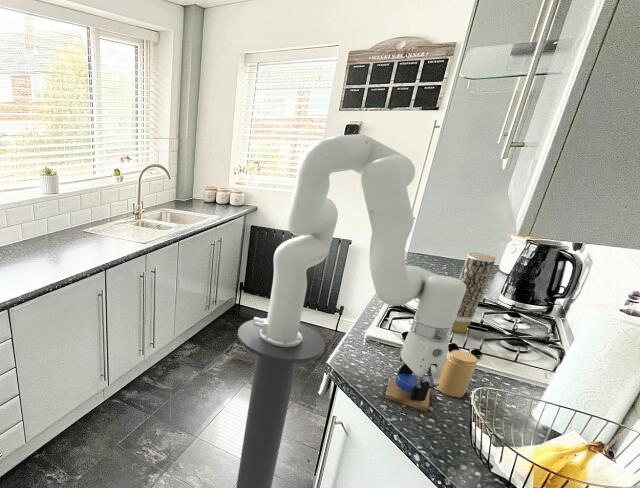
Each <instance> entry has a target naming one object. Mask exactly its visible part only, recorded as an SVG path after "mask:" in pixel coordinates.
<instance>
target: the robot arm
mask: <svg viewBox="0 0 640 488" xmlns="http://www.w3.org/2000/svg"><path fill="white" fill-rule="evenodd" d="M297 167H298V168H297V170H296V172H297V173H296V178H295V182H294V183H295V184H294V186H293V187H294V188H293V191H292V195H291V200H290V204H289V208H288V212H287V217H286V227H287V230H288V232H290V233H291V234H292V235H294V236H296V237H293V238H290V239H288V240H285V241H283V242H282V243H280V244H279V245H278V246H277V248H276V249H275V251H274V254H273V278H272V285H271V291H270V299H269V304H268V311H267V316H266V318H267V319H260V318H261V317H257V316H254V317H253V319H254V320H253V319H252V320H253V323H255V324H254V326H257V327H261V330H260V336H261V338H262V339H263V340H264V341H266V342H268V343H270V344H272V345H276V346H280V347H293V346H297V345H299V344H300V343H301V342H302V335H301V334H300V333H299V332H298V330H299V325H300V324H301V319H302V314H303V309H304V304H305V299H306V294H307V288H308V277H307V271H308V269H309V268H311V267H314V266H317V265H319V264H321V263H322V262H323V261H324V260H325V259H326V257H327V256H328V253H329V251H330V248H331V244H332V240H333V237H334V234H335V230H336V227H337V224H338V223H337V222H338V216H339V215H338V214H339V213H338V208H337V205H336V204H335V202H334V201H333V200H331V199H330V198H328V193H329V190H330V184H331V183H330V175H331V174H333V173H339V172H346V171H351V170H352V171H354V172H356V173H358V174H359V175H360V182H361V188H362V193H363V197H364V201H365V205H366V208H367V209H366V210H367V214H368V219H369V222H370V228H371V235H370V236H371V237H370V242H369V243H370V244H369V258H368V259H369V270H370V275H371V279H372V283H373V287H374V290H375V293H376V295H377V296H378V298H379V299H380V300H381V301H382V302H383V303H384V304H386V305H388V306H392V307H400V306H403V305H406V304H407V303H409V302H411V301H412V300H415V299H417V300H418V305H417V307H416V310H415V313H414V317H413V319H412V323H411V325H410V329H409V331H407V332H408V333H407V335H406V337H405V339H404V341H403V345H402V346H400V347H399V349H398V350H399V361H400V362H399V364H398V371H397V374H396V377H395V379H397V376H398V375H399V374H402V373H407V374H414V375H416V376H417V386H414V388H413V391H412V393H411V396H410V399H411V400H414V401H424V400H425V398H426V395H427V393H428V390H429V389H430V390H431V389H433V388H436V386H439V384H440V383H439V378H440V376H441V374H442V371H443V368H444V365H445V362H446V359H447V357H448V353H449V343H450V342H449V338H450V335H451V332H452V331H451V330H452V327H453V324H454V322H455V319H456V316H457V313H458V311H459V308H460V305H461V303H462V300H463V297H464V295H465V292H466V285H465V283H464V282H462V281H461V280H459V278H457V277H452V276H449V275H448V276H447V275H440V274H437V273H434V272H432V271H430V270H428V269H426V268H422V267H419V266H416V265H407V263H406V246H407V242H408V239H409V237H410V234H411V232H412V230H413V228H414V223H415V218H414V214H413V209H412V206H411V202H410V196H409V192H408V186H409V185H411V183H412V182H414V178H415V176H416V167H415V165H414V163H413V162H412V160H411V159H410V158H409V157H408V156H406V155H404V154H403V153H401V152H399V151H397V150H396V149H393V148H391V147H389V146H387V145H385V144H383V143H382V142H380V141H378V140H376V139H374V138H372V137H370V136H368V135H365V134H359V133H356V134H354V133H353V134H340V135H333V136H329V137H325V138H323V139H320V140H318V141H316V142H314V143H312V144H311V145H310V146H309V147H307V148H306V149H305V150H304V152H303V154H302V155H301V157H300V159H299V162H298V166H297ZM422 379H425V381H426V382H423V383H422ZM395 381H396V380H395Z"/></svg>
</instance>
